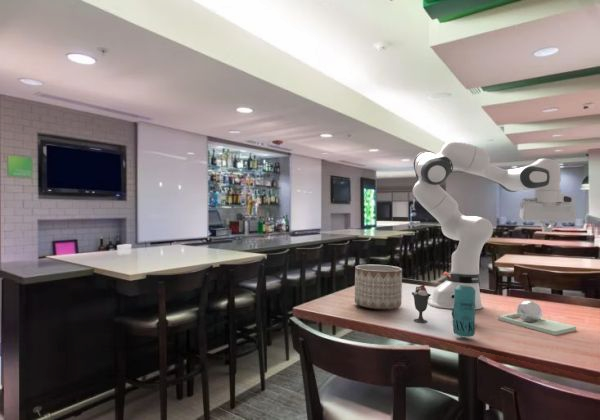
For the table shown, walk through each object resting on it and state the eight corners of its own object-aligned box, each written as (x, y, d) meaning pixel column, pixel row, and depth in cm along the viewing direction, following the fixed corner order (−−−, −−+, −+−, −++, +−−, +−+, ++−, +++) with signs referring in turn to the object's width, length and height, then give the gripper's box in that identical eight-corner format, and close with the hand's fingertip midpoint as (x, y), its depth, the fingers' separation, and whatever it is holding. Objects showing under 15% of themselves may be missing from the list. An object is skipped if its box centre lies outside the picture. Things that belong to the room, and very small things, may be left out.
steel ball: (540, 309, 131) (515, 303, 136) (538, 329, 133) (513, 322, 138) (545, 300, 136) (520, 294, 142) (543, 320, 138) (518, 313, 144)
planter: (355, 300, 168) (356, 263, 168) (399, 302, 164) (400, 265, 164) (353, 310, 149) (353, 269, 149) (402, 314, 145) (403, 272, 145)
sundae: (428, 325, 131) (428, 282, 131) (409, 321, 135) (409, 280, 135) (432, 320, 137) (433, 280, 137) (413, 317, 140) (414, 278, 140)
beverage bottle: (448, 335, 121) (449, 273, 121) (468, 335, 121) (469, 273, 121) (459, 342, 114) (460, 277, 114) (479, 341, 115) (480, 277, 115)
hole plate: (576, 330, 129) (576, 326, 129) (554, 335, 123) (554, 331, 123) (519, 315, 146) (519, 312, 146) (498, 319, 140) (498, 316, 140)
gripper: (523, 197, 150) (523, 231, 150) (578, 198, 148) (578, 233, 148) (516, 198, 157) (516, 231, 156) (569, 199, 154) (568, 232, 154)
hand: (546, 232), depth 152 cm, fingers closed
